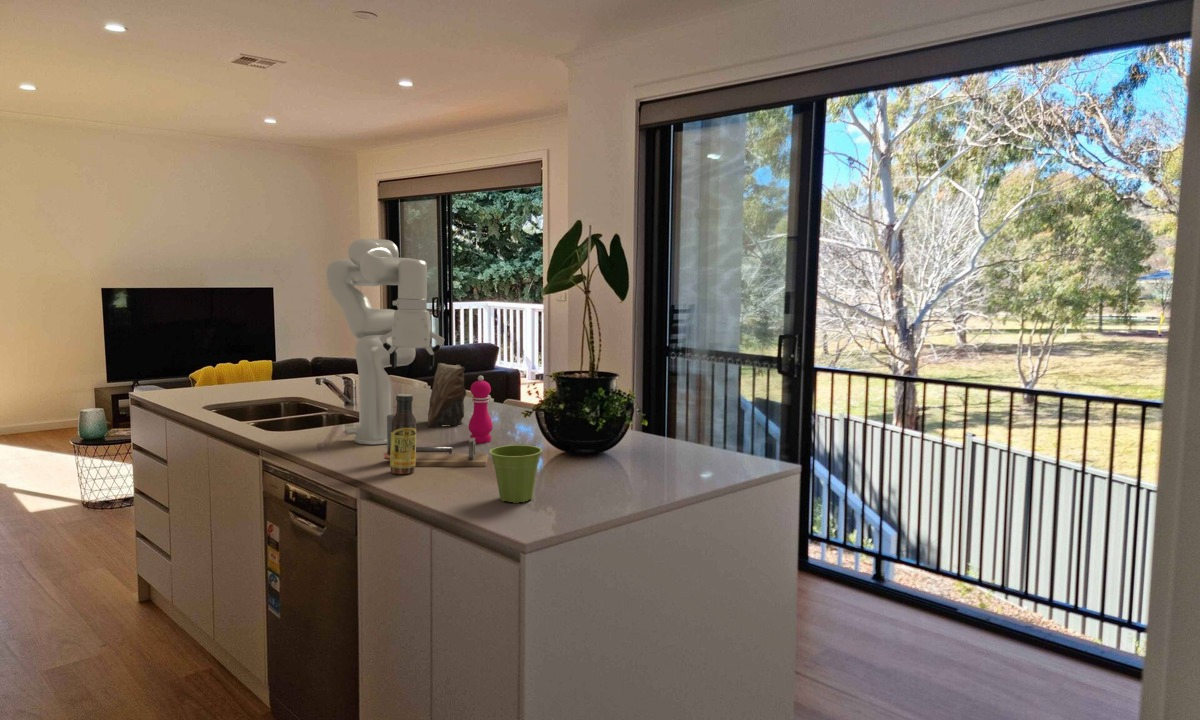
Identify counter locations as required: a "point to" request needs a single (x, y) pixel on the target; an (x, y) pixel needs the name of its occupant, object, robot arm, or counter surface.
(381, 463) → the counter surface
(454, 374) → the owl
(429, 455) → the board
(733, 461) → the counter surface
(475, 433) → the pepper mill
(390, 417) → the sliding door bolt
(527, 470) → the plant pot
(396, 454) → the sauce bottle
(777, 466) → the counter surface
